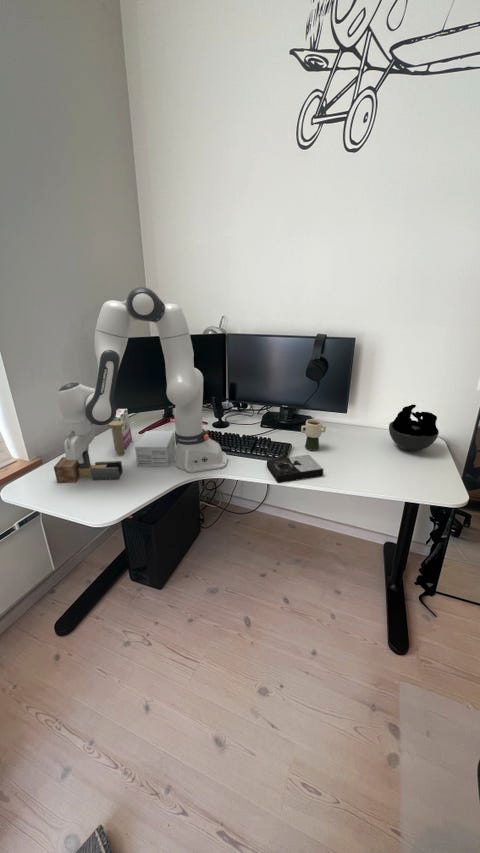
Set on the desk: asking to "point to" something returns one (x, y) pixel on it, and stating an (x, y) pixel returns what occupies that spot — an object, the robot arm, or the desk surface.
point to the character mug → (313, 433)
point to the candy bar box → (126, 431)
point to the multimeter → (294, 468)
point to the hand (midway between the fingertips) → (83, 459)
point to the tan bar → (87, 466)
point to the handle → (118, 436)
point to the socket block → (66, 471)
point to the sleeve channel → (107, 471)
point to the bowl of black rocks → (413, 429)
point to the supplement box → (155, 449)
